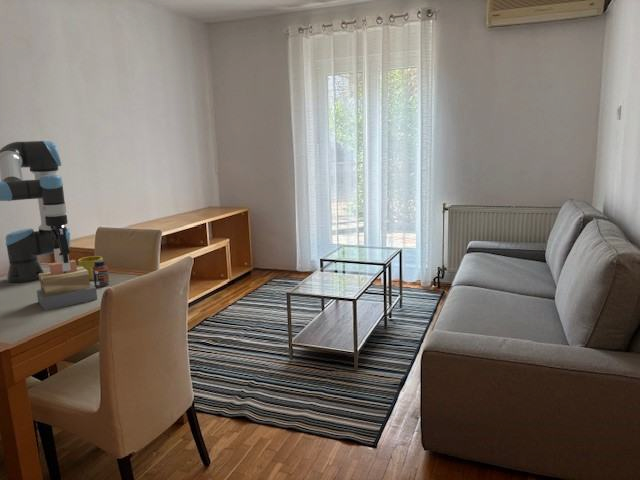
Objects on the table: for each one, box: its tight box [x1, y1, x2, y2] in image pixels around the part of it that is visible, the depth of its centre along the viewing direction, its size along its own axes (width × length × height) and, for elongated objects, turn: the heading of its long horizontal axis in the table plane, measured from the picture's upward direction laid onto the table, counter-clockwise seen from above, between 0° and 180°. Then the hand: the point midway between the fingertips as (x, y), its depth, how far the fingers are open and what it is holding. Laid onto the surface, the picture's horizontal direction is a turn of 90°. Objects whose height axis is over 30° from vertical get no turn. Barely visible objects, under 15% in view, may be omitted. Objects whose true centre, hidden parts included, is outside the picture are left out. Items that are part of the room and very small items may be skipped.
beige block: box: [38, 266, 91, 296], centre depth 191 cm, size 10×16×7 cm, turn 129°
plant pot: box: [77, 255, 103, 281], centre depth 224 cm, size 10×10×10 cm
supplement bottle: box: [93, 260, 110, 288], centre depth 211 cm, size 6×6×11 cm
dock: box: [36, 282, 98, 311], centre depth 192 cm, size 14×19×5 cm
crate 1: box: [48, 262, 64, 275], centre depth 188 cm, size 4×4×4 cm
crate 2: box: [65, 259, 78, 273], centre depth 191 cm, size 4×4×4 cm
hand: (63, 267), depth 190 cm, fingers open, 13 cm apart
